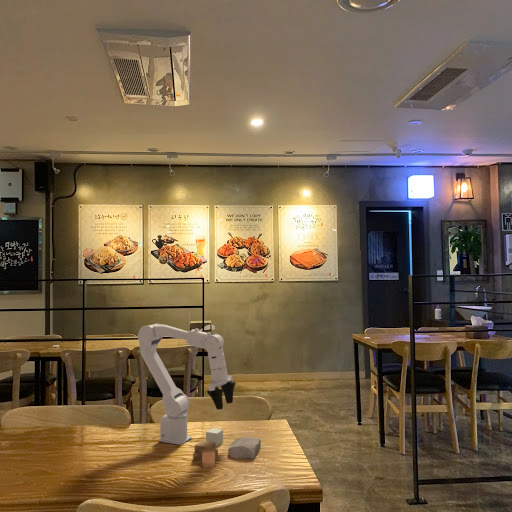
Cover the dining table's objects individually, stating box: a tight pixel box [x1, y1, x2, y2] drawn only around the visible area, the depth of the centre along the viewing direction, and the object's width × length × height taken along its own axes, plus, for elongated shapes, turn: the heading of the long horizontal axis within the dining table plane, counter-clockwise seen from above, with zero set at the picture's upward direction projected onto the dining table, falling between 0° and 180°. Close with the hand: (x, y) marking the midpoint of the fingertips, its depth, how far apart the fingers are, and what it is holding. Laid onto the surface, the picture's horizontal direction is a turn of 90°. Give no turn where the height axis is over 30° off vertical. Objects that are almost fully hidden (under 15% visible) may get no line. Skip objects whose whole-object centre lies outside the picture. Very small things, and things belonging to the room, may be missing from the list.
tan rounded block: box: [201, 450, 216, 469], centre depth 142 cm, size 4×4×4 cm
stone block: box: [227, 436, 262, 460], centre depth 153 cm, size 12×5×10 cm
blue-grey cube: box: [205, 427, 224, 447], centre depth 162 cm, size 4×4×4 cm
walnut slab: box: [192, 449, 219, 462], centre depth 148 cm, size 6×6×2 cm
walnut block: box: [194, 439, 217, 454], centre depth 148 cm, size 5×5×2 cm
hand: (224, 406), depth 161 cm, fingers open, 7 cm apart
